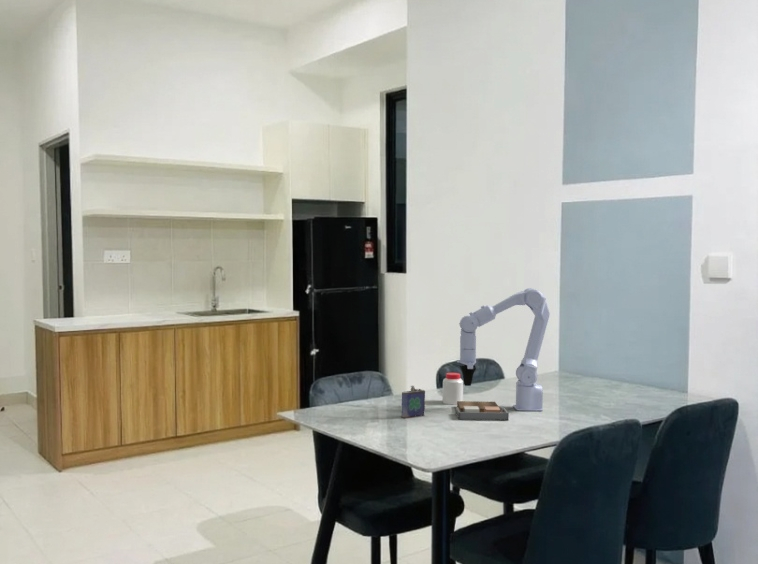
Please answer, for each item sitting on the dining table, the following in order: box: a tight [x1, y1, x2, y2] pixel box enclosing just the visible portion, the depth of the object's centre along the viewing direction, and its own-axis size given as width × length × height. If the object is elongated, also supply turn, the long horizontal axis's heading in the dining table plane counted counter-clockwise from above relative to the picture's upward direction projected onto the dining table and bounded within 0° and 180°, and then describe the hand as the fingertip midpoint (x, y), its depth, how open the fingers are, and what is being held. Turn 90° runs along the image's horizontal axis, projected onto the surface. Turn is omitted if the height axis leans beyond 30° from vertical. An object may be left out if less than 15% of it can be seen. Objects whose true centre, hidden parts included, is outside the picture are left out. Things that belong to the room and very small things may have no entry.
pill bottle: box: [442, 372, 464, 406], centre depth 274 cm, size 8×8×11 cm
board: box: [456, 400, 499, 412], centre depth 262 cm, size 14×12×2 cm
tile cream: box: [463, 406, 479, 412], centre depth 253 cm, size 5×5×2 cm
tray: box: [455, 406, 510, 421], centre depth 251 cm, size 17×9×2 cm, turn 89°
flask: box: [401, 385, 426, 419], centre depth 251 cm, size 9×3×11 cm, turn 121°
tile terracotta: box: [484, 406, 501, 413], centre depth 252 cm, size 5×5×2 cm
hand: (467, 385), depth 266 cm, fingers closed
